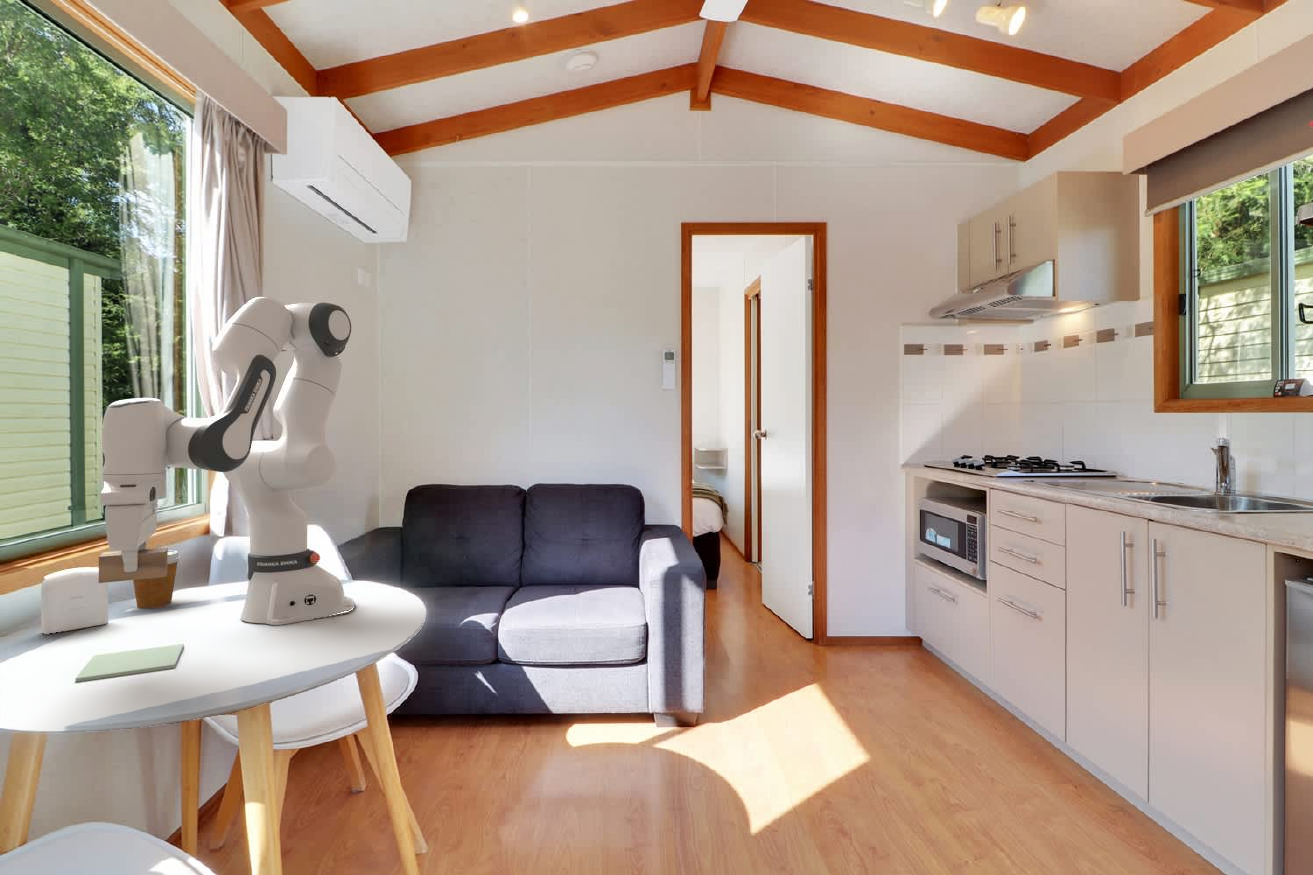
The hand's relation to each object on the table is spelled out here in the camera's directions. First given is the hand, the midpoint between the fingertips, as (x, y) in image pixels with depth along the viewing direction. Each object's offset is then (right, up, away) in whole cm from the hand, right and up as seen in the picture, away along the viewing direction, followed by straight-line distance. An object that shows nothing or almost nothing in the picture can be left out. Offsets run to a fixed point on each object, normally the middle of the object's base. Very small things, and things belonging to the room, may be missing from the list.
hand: (134, 567), depth 112 cm
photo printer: (-28, -17, +19) cm, 37 cm away
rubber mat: (0, -17, 0) cm, 17 cm away
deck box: (0, -2, 0) cm, 2 cm away
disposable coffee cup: (-25, -16, +36) cm, 47 cm away
